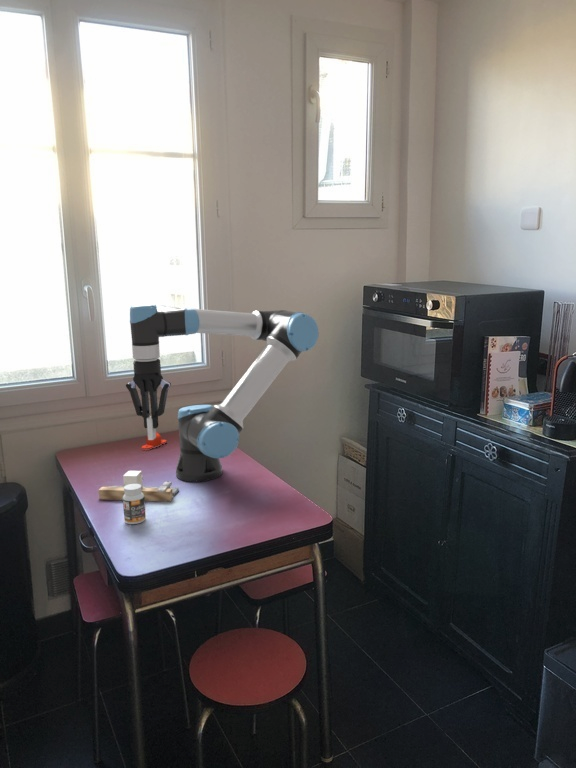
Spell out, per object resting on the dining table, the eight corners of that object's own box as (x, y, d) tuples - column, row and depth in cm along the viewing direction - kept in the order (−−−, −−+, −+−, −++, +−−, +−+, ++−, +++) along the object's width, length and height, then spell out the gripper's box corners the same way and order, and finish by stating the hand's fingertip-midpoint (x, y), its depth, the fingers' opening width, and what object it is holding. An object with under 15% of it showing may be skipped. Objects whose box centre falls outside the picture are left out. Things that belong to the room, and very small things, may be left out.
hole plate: (178, 490, 193) (178, 487, 192) (174, 496, 188) (174, 492, 188) (110, 488, 195) (110, 485, 195) (104, 494, 191) (104, 490, 191)
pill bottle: (135, 526, 168) (132, 492, 166) (120, 522, 171) (117, 488, 169) (150, 518, 173) (147, 485, 171) (135, 514, 176) (132, 481, 174)
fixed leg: (172, 488, 191) (171, 481, 190) (164, 497, 184) (163, 490, 183) (165, 488, 191) (165, 481, 191) (158, 497, 184) (157, 490, 184)
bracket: (146, 451, 231) (145, 438, 230) (139, 450, 234) (138, 437, 232) (168, 443, 241) (167, 430, 240) (161, 441, 243) (160, 429, 242)
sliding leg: (147, 490, 192) (145, 467, 190) (138, 500, 185) (136, 476, 183) (134, 490, 193) (132, 466, 191) (125, 500, 185) (123, 475, 184)
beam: (172, 498, 187) (172, 488, 186) (170, 501, 184) (169, 491, 184) (102, 495, 190) (102, 486, 189) (99, 499, 187) (98, 489, 187)
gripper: (172, 356, 180) (177, 435, 185) (129, 356, 182) (135, 434, 187) (164, 361, 173) (169, 443, 178) (119, 361, 174) (125, 442, 179)
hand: (152, 438), depth 182 cm, fingers closed
